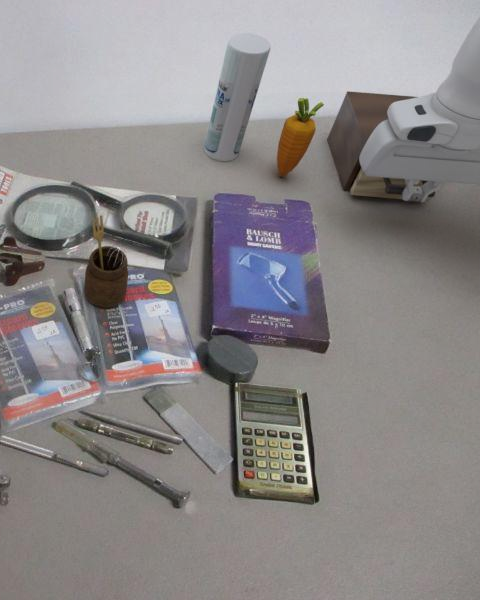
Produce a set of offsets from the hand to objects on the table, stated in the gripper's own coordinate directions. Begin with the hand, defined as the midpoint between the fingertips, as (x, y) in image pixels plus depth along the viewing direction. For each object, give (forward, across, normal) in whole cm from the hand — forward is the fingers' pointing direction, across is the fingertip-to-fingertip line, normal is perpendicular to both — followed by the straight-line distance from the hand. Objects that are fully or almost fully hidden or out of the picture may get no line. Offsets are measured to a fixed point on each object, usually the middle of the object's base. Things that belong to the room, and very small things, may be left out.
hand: (412, 198), depth 91 cm
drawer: (+5, 0, -10) cm, 11 cm away
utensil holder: (+6, +46, +19) cm, 50 cm away
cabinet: (+6, 0, -15) cm, 16 cm away
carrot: (+6, +17, -10) cm, 21 cm away
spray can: (+6, +27, -16) cm, 32 cm away
